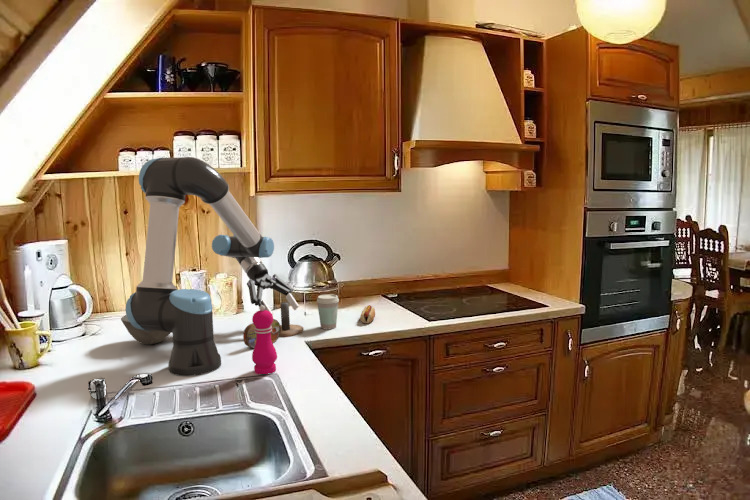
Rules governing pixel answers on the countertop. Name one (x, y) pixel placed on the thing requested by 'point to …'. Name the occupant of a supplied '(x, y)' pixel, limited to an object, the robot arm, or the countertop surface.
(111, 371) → the countertop surface
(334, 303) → the coffee cup
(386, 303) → the countertop surface
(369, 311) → the food
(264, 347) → the pepper mill
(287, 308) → the walnut lid
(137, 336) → the bowl
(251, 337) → the tin
